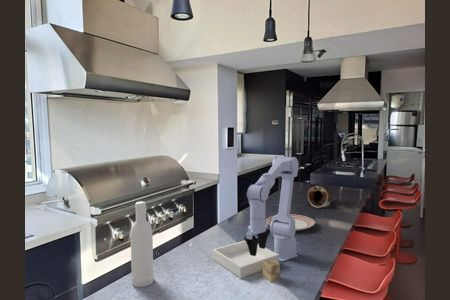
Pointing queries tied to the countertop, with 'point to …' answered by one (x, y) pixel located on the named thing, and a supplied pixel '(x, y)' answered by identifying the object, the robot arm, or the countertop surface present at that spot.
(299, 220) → the dinner plate
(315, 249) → the countertop surface
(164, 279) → the countertop surface
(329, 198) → the clay pot
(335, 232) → the countertop surface
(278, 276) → the maple block
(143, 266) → the bottle
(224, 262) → the bin
